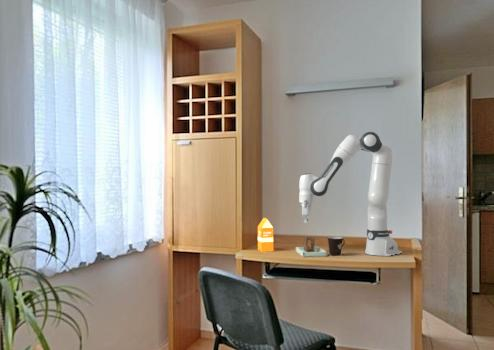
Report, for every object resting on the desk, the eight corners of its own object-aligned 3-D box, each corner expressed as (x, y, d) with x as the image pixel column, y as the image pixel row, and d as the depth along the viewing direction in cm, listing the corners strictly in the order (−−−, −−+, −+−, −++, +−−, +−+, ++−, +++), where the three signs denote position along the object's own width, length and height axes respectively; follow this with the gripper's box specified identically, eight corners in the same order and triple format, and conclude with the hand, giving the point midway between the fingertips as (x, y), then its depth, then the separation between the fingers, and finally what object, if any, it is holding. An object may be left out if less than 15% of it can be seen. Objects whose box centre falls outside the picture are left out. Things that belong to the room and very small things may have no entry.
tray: (318, 250, 261) (318, 246, 261) (327, 256, 243) (327, 252, 243) (295, 251, 260) (295, 247, 260) (303, 256, 241) (303, 252, 241)
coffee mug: (331, 256, 242) (331, 239, 242) (325, 253, 251) (325, 236, 251) (350, 255, 244) (350, 238, 244) (343, 253, 253) (343, 236, 253)
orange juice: (261, 252, 257) (261, 219, 257) (257, 249, 266) (257, 217, 266) (273, 251, 259) (273, 218, 259) (269, 249, 268) (269, 217, 268)
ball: (309, 248, 257) (308, 244, 256) (312, 250, 255) (312, 246, 254) (306, 250, 256) (305, 246, 255) (309, 252, 253) (308, 247, 253)
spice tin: (312, 250, 258) (312, 237, 258) (314, 252, 253) (314, 238, 253) (304, 250, 258) (304, 237, 258) (306, 252, 253) (306, 238, 253)
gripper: (310, 200, 251) (310, 224, 251) (312, 198, 271) (312, 220, 271) (299, 200, 252) (299, 223, 252) (302, 198, 272) (302, 220, 272)
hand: (306, 222), depth 262 cm, fingers open, 8 cm apart
